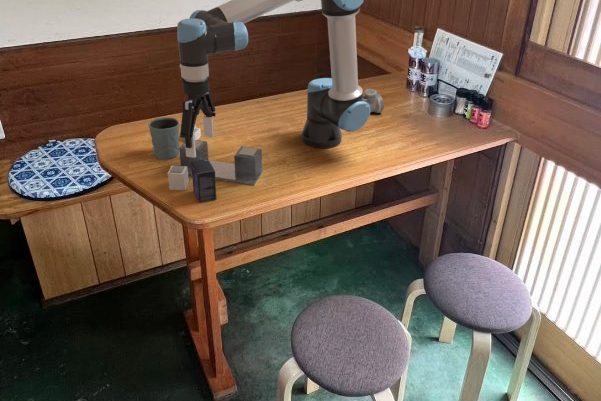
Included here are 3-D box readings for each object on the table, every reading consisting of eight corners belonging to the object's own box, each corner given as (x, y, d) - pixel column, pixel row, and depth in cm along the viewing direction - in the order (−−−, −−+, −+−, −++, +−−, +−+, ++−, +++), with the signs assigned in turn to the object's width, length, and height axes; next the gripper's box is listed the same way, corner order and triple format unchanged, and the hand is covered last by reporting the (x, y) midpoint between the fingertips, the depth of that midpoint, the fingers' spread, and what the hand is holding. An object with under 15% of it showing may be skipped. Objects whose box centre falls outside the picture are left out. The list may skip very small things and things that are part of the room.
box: (193, 190, 176) (190, 160, 170) (210, 187, 178) (208, 157, 172) (199, 203, 170) (196, 173, 164) (217, 200, 172) (215, 169, 166)
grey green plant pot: (146, 157, 194) (142, 126, 187) (162, 145, 202) (159, 114, 195) (172, 163, 191) (168, 131, 184) (187, 150, 199) (184, 119, 192)
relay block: (188, 182, 180) (187, 165, 177) (185, 190, 176) (183, 173, 173) (173, 181, 180) (171, 164, 177) (169, 189, 176) (167, 172, 173)
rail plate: (263, 170, 188) (263, 145, 183) (254, 185, 180) (253, 159, 175) (191, 160, 193) (189, 135, 188) (179, 174, 185) (176, 148, 179)
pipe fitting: (375, 106, 236) (376, 84, 229) (384, 115, 230) (385, 93, 223) (349, 113, 233) (349, 91, 226) (358, 122, 227) (358, 100, 220)
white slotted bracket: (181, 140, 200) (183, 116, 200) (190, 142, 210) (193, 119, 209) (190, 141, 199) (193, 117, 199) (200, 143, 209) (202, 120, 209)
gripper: (200, 62, 165) (204, 127, 176) (162, 91, 144) (170, 163, 156) (224, 64, 163) (227, 130, 175) (189, 95, 143) (195, 167, 154)
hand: (200, 146), depth 165 cm, fingers open, 13 cm apart
